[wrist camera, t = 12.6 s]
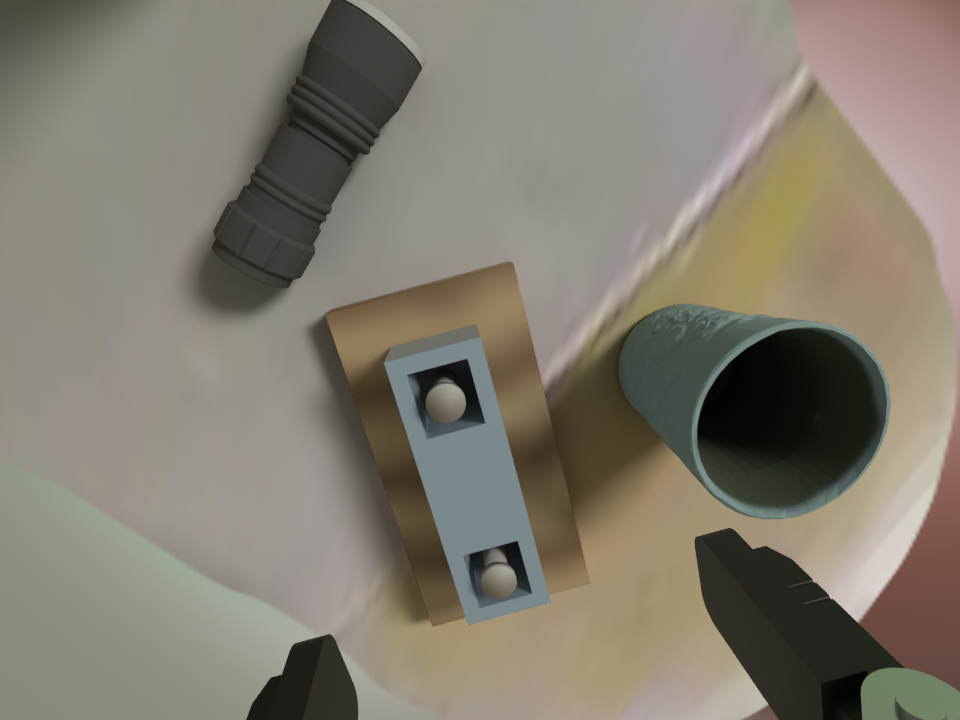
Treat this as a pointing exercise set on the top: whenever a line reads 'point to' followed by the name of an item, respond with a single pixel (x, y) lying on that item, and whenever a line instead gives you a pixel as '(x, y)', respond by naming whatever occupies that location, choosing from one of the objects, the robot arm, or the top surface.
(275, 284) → the flashlight
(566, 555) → the mount board
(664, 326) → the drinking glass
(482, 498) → the blue-grey block with holes
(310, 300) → the top surface
